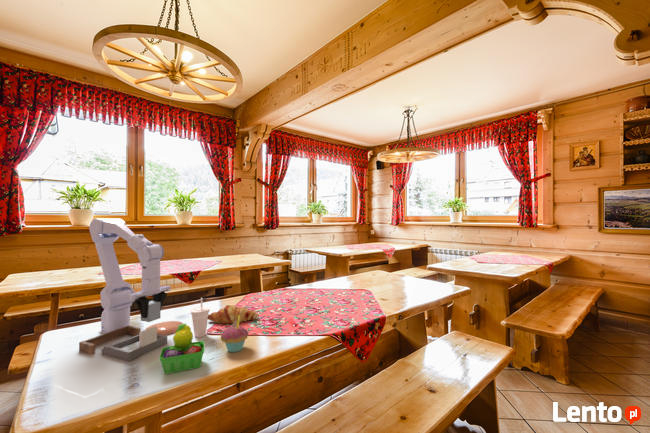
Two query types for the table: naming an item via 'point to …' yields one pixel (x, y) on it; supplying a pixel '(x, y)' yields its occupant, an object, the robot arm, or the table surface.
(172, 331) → the plate
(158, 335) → the grey square tray
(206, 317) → the smoothie
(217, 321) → the croissant
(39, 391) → the table surface
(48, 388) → the table surface
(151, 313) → the grey block
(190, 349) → the fruit basket
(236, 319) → the figurine
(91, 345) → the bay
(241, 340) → the cupcake
